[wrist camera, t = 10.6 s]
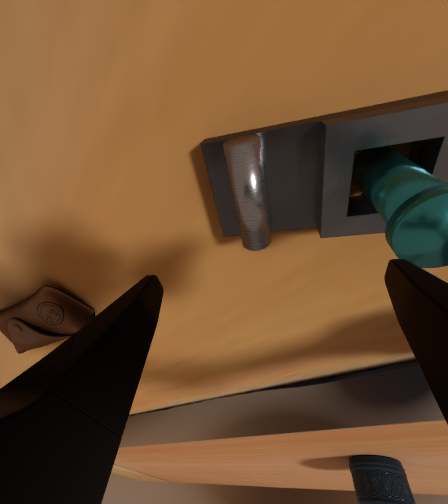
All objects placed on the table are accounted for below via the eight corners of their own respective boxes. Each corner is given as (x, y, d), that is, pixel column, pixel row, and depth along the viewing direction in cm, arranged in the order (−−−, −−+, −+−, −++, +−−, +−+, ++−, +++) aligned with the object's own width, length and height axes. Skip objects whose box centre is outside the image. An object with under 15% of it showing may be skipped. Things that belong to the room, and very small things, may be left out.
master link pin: (397, 187, 18) (480, 265, 11) (341, 194, 19) (385, 270, 12) (411, 131, 16) (528, 185, 9) (346, 142, 17) (405, 199, 10)
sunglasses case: (41, 283, 29) (39, 338, 27) (95, 286, 35) (97, 331, 33) (-16, 316, 37) (-21, 361, 35) (37, 314, 43) (35, 353, 41)
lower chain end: (419, 207, 19) (449, 234, 16) (225, 227, 22) (220, 253, 19) (458, 88, 14) (511, 95, 11) (204, 138, 18) (192, 154, 15)
